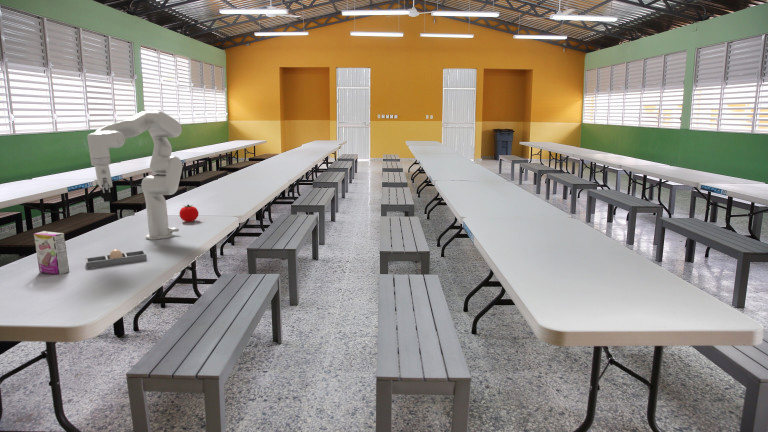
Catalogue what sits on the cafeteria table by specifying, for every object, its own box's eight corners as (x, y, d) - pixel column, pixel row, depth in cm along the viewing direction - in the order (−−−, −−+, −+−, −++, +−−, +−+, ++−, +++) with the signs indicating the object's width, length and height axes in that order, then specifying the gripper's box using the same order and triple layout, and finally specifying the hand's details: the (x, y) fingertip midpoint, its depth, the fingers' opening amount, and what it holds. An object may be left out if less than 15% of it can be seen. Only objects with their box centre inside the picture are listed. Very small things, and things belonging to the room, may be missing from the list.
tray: (144, 255, 236) (143, 250, 235) (146, 260, 229) (146, 254, 229) (86, 264, 224) (85, 258, 224) (87, 268, 218) (86, 262, 217)
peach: (122, 258, 230) (120, 247, 229) (123, 261, 226) (122, 249, 225) (109, 260, 227) (108, 249, 226) (110, 263, 223) (109, 251, 222)
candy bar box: (38, 272, 213) (32, 233, 210) (49, 269, 218) (44, 230, 214) (59, 275, 209) (53, 235, 206) (70, 271, 214) (64, 232, 211)
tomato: (195, 223, 301) (193, 206, 299) (177, 223, 301) (175, 206, 299) (201, 219, 311) (200, 203, 309) (184, 219, 311) (182, 203, 309)
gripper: (112, 162, 225) (118, 201, 229) (108, 158, 239) (113, 195, 244) (93, 164, 221) (99, 204, 225) (89, 160, 235) (95, 197, 240)
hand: (106, 199), depth 234 cm, fingers open, 9 cm apart
